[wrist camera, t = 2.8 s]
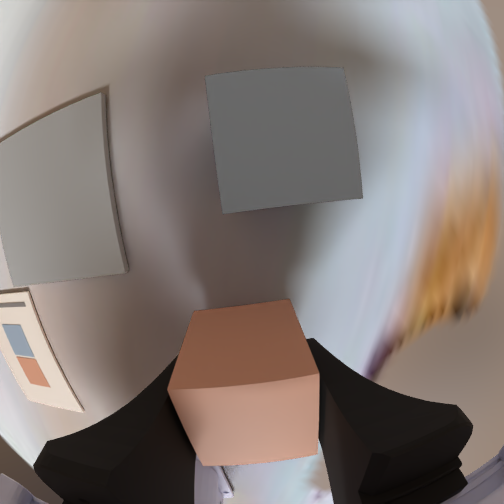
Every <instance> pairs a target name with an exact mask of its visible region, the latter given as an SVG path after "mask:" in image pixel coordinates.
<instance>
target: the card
mask: <svg viewBox="0 0 504 504" xmlns="http://www.w3.org/2000/svg"><path fill="white" fill-rule="evenodd" d="M0 349H1V351H2V354H3V356H4V358H5V360H6V362H7V364H8V366H9V367H10V369H11V371H12V373H13V375H14V377H15V378H16V380H17V382H18V384H19V385H20V387H21V389H22V391H23V392H24V394H25V396H26V397H27V399H28V400H29V401H33V402H36V403H40V404H44V405H48V406H53V407H57V408H62V409H67V410H72V411H77V412H83V413H84V409H83V407H82V406H81V404H80V403H79V401H78V399H77V397H76V396H75V394H74V392H73V390H72V389H71V387H70V385H69V383H68V381H67V380H66V378H65V376H64V374H63V372H62V370H61V368H60V366H59V364H58V362H57V360H56V358H55V356H54V353H53V351H52V349H51V347H50V345H49V342H48V340H47V338H46V335H45V333H44V331H43V328H42V326H41V323H40V320H39V318H38V315H37V312H36V310H35V307H34V304H33V301H32V298H31V295H30V292H29V291H23V292H13V293H2V294H0Z"/></svg>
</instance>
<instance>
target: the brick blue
mask: <svg viewBox="0 0 504 504" xmlns="http://www.w3.org/2000/svg"><path fill="white" fill-rule="evenodd" d="M205 82H206V91H207V100H208V108H209V117H210V125H211V133H212V141H213V149H214V156H215V164H216V171H217V179H218V186H219V193H220V200H221V207H222V214H228V213H235V212H243V211H250V210H258V209H266V208H274V207H283V206H291V205H300V204H309V203H319V202H329V201H339V200H350V199H361V198H363V193H362V182H361V172H360V162H359V154H358V146H357V139H356V132H355V126H354V119H353V113H352V108H351V102H350V97H349V92H348V87H347V82H346V77H345V73H344V69H343V68H337V67H283V68H266V69H254V70H244V71H235V72H227V73H220V74H214V75H208V76H205Z"/></svg>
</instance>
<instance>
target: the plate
mask: <svg viewBox="0 0 504 504" xmlns="http://www.w3.org/2000/svg"><path fill="white" fill-rule="evenodd" d="M0 234H1V239H2V244H3V249H4V253H5V257H6V261H7V265H8V269H9V273H10V276H11V280H12V283H13V286H14V287H19V286H27V285H35V284H44V283H52V282H60V281H68V280H76V279H84V278H92V277H100V276H108V275H116V274H124V273H126V272H128V271H129V267H128V263H127V259H126V255H125V250H124V245H123V241H122V236H121V231H120V226H119V220H118V215H117V209H116V203H115V196H114V190H113V183H112V175H111V167H110V158H109V148H108V136H107V121H106V96H105V94H103V93H98V94H95V95H93V96H90V97H88V98H85V99H83V100H80V101H78V102H76V103H73V104H71V105H69V106H67V107H64V108H62V109H60V110H58V111H56V112H54V113H52V114H50V115H48V116H46V117H44V118H42V119H40V120H38V121H36V122H34V123H33V124H31V125H29V126H27V127H25V128H24V129H22V130H20V131H18V132H17V133H15V134H13V135H12V136H10V137H8V138H7V139H5V140H4V141H2V142H1V143H0Z"/></svg>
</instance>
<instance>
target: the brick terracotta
mask: <svg viewBox="0 0 504 504" xmlns="http://www.w3.org/2000/svg"><path fill="white" fill-rule="evenodd" d="M167 390H168V393H169V395H170V398H171V400H172V402H173V405H174V407H175V409H176V412H177V414H178V416H179V418H180V421H181V423H182V425H183V427H184V429H185V431H186V434H187V436H188V438H189V440H190V442H191V444H192V446H193V448H194V450H195V452H196V454H197V456H198V458H199V460H200V461H201V463H202V465H203V466H227V465H245V464H257V463H266V462H274V461H282V460H289V459H295V458H301V457H306V456H311V455H316V454H317V452H318V431H319V371H318V368H317V366H316V363H315V361H314V358H313V356H312V353H311V351H310V348H309V346H308V343H307V341H306V338H305V336H304V333H303V331H302V328H301V326H300V323H299V321H298V318H297V316H296V313H295V311H294V308H293V306H292V304H291V301H290V299H284V300H277V301H270V302H263V303H256V304H249V305H241V306H233V307H225V308H217V309H208V310H199V311H194V312H193V315H192V318H191V321H190V323H189V326H188V329H187V332H186V335H185V338H184V341H183V344H182V346H181V349H180V352H179V355H178V358H177V361H176V364H175V367H174V370H173V373H172V376H171V379H170V382H169V386H168V389H167Z"/></svg>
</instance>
